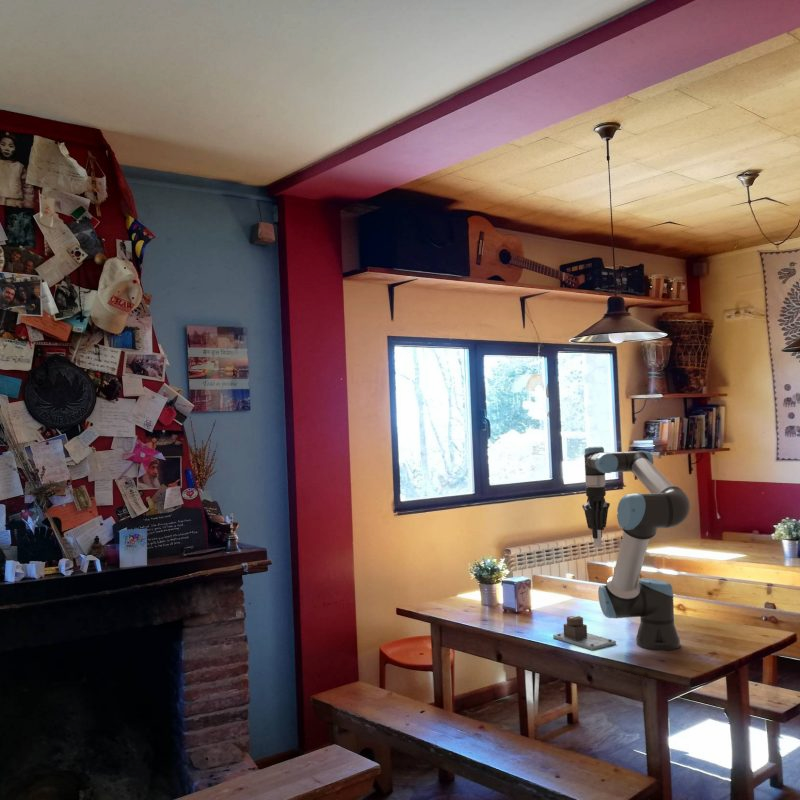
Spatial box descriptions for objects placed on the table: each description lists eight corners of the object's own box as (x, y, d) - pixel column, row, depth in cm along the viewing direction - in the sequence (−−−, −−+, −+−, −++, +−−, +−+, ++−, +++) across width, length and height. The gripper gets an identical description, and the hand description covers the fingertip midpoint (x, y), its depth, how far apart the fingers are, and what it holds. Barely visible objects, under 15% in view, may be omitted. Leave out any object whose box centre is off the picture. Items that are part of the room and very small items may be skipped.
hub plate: (615, 644, 288) (615, 631, 288) (591, 650, 282) (591, 637, 282) (576, 632, 305) (576, 620, 305) (552, 638, 299) (552, 625, 299)
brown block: (587, 635, 296) (586, 617, 296) (575, 638, 293) (574, 619, 293) (575, 632, 301) (574, 614, 302) (563, 635, 298) (563, 616, 298)
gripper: (600, 484, 316) (602, 543, 316) (576, 486, 309) (578, 547, 309) (614, 485, 310) (616, 546, 309) (590, 487, 303) (592, 549, 302)
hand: (597, 546), depth 309 cm, fingers closed
